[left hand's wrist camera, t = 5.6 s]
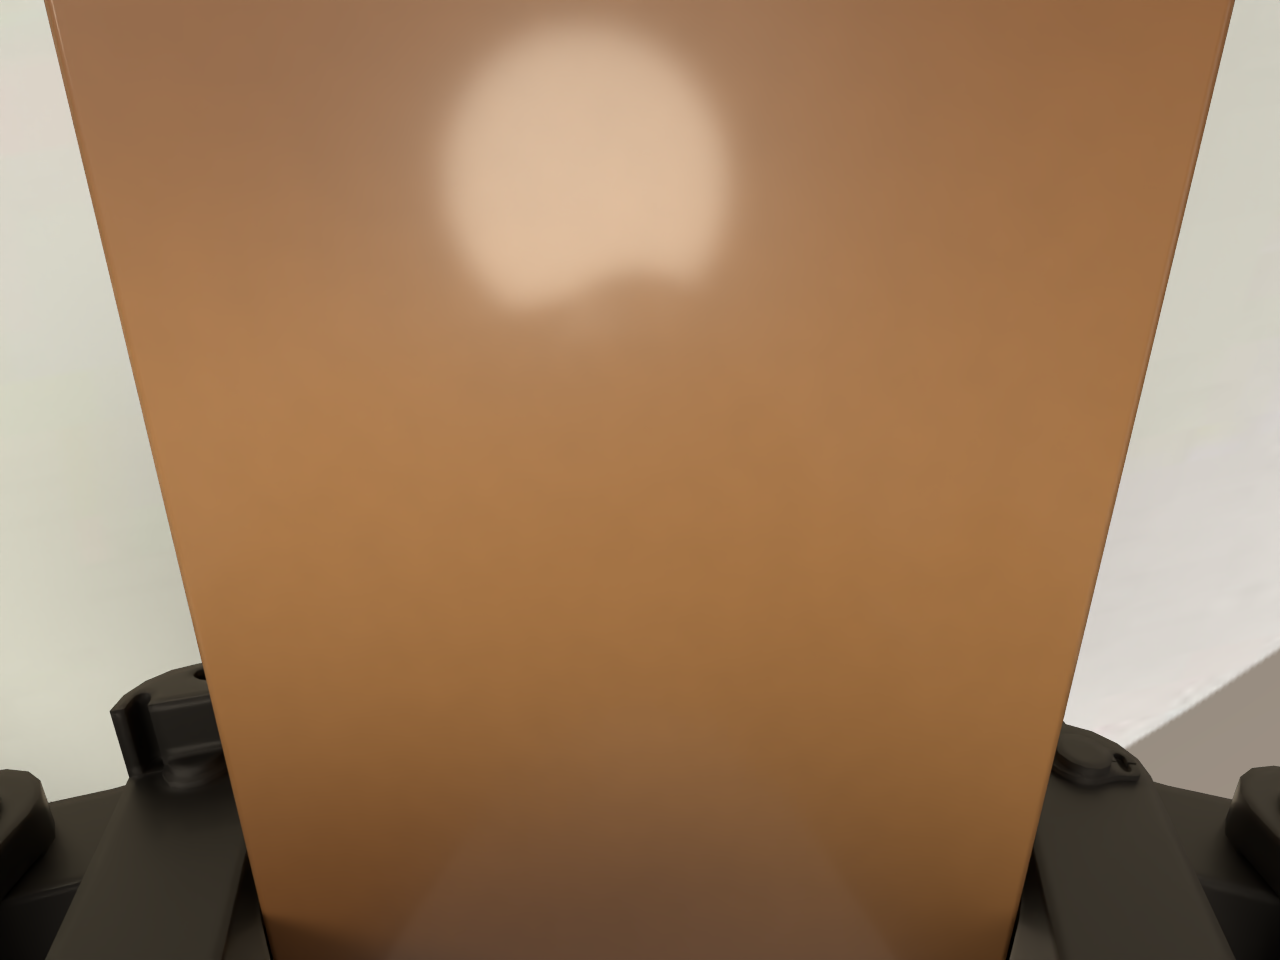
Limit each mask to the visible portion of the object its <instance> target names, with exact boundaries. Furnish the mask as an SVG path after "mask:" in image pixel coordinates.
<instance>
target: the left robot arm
mask: <svg viewBox="0 0 1280 960" xmlns="http://www.w3.org/2000/svg"><path fill="white" fill-rule="evenodd" d="M110 714H111V717H112V721H113V724H114V727H115V731H116V734H117V737H118V741H119V744H120V748H121V751H122V754H123V758H124V761H125V764H126V768H127V771H128V774H129V779H128V781H127V784H126V785H125V786H121V787H118V788H114V789H110V790H105V791H101V792H96V793H91V794H87V795H82V796H78V797H73V798H68V799H64V800H59V801H54V802H50V803H48V801H47V798H46V795H45V793H44V790H43V787H42V784H41V781H40V780H39V779H38V778H36V777H35V776H34V775H32V774H31V773H30V772H28V771H18V770H9V769H5V770H0V960H273V957H272V953H271V949H270V945H269V940H268V936H267V932H266V928H265V924H264V919H263V915H262V911H261V907H260V903H259V898H258V894H257V890H256V886H255V882H254V878H253V873H252V869H251V865H250V861H249V857H248V852H247V848H246V844H245V840H244V836H243V832H242V827H241V823H240V819H239V815H238V811H237V806H236V802H235V798H234V794H233V790H232V785H231V781H230V777H229V773H228V769H227V765H226V760H225V756H224V752H223V748H222V744H221V739H220V735H219V731H218V727H217V723H216V718H215V714H214V710H213V706H212V702H211V698H210V693H209V689H208V685H207V681H206V677H205V672H204V668H203V664H202V663H199V664H195V665H191V666H187V667H183V668H178V669H174V670H171V671H169V672H166V673H164V674H161V675H159V676H157V677H154V678H152V679H149V680H147V681H145V682H144V683H142V684H140V685H139V686H137V687H136V688H134V689H133V690H131V691H130V692H128V693H127V694H125V695H124V696H123V697H122V698H121V699H120V700H119V701H118V702H117V704H116V705H115V706H114V707H113V708H112V709H111V710H110ZM1006 960H1280V767H1278V766H1267V767H1258V768H1252V769H1250V770H1249V771H1248V772H1246V773H1245V774H1244V775H1242V776H1241V777H1240V779H1239V782H1238V785H1237V788H1236V791H1235V793H1234V796H1233V799H1227V798H1222V797H1218V796H1213V795H1208V794H1204V793H1199V792H1195V791H1190V790H1185V789H1180V788H1176V787H1171V786H1167V785H1163V784H1160V783H1156V782H1153V780H1152V778H1151V776H1150V775H1149V773H1148V772H1147V771H1146V769H1145V768H1144V767H1143V765H1142V764H1141V763H1140V761H1139V760H1138V759H1137V758H1136V757H1134V756H1133V755H1132V754H1130V753H1129V752H1128V751H1126V750H1125V749H1124V748H1122V747H1121V746H1120V745H1118V744H1117V743H1115V742H1113V741H1111V740H1109V739H1107V738H1105V737H1103V736H1100V735H1098V734H1096V733H1094V732H1092V731H1089V730H1085V729H1081V728H1078V727H1074V726H1070V725H1067V724H1065V723H1064V721H1063V723H1062V727H1061V731H1060V735H1059V739H1058V744H1057V748H1056V752H1055V756H1054V760H1053V764H1052V769H1051V773H1050V777H1049V781H1048V785H1047V790H1046V794H1045V798H1044V802H1043V806H1042V811H1041V815H1040V819H1039V823H1038V827H1037V831H1036V836H1035V840H1034V844H1033V848H1032V852H1031V857H1030V861H1029V865H1028V869H1027V873H1026V878H1025V882H1024V886H1023V890H1022V894H1021V898H1020V903H1019V907H1018V911H1017V915H1016V919H1015V924H1014V928H1013V932H1012V936H1011V940H1010V945H1009V949H1008V953H1007V957H1006Z"/></svg>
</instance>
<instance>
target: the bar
mask: <svg viewBox="0 0 1280 960" xmlns="http://www.w3.org/2000/svg"><path fill="white" fill-rule="evenodd" d="M1234 2H1235V0H44V3H45V7H46V11H47V15H48V19H49V24H50V28H51V32H52V36H53V40H54V44H55V49H56V53H57V57H58V61H59V65H60V70H61V74H62V78H63V82H64V86H65V91H66V95H67V99H68V103H69V107H70V111H71V116H72V120H73V124H74V128H75V132H76V137H77V141H78V145H79V149H80V153H81V158H82V162H83V166H84V170H85V174H86V178H87V183H88V187H89V191H90V195H91V199H92V204H93V208H94V212H95V216H96V220H97V225H98V229H99V233H100V237H101V241H102V245H103V250H104V254H105V258H106V262H107V266H108V271H109V275H110V279H111V283H112V287H113V291H114V296H115V300H116V304H117V308H118V312H119V317H120V321H121V325H122V329H123V333H124V338H125V342H126V346H127V350H128V354H129V358H130V363H131V367H132V371H133V375H134V379H135V384H136V388H137V392H138V396H139V400H140V405H141V409H142V413H143V417H144V421H145V425H146V430H147V434H148V438H149V442H150V446H151V451H152V455H153V459H154V463H155V467H156V471H157V476H158V480H159V484H160V488H161V492H162V497H163V501H164V505H165V509H166V513H167V518H168V522H169V526H170V530H171V534H172V538H173V543H174V547H175V551H176V555H177V559H178V564H179V568H180V572H181V576H182V580H183V585H184V589H185V593H186V597H187V601H188V605H189V610H190V614H191V618H192V622H193V626H194V631H195V635H196V639H197V643H198V647H199V652H200V656H201V660H202V664H203V668H204V672H205V677H206V681H207V685H208V689H209V693H210V698H211V702H212V706H213V710H214V714H215V718H216V723H217V727H218V731H219V735H220V739H221V744H222V748H223V752H224V756H225V760H226V765H227V769H228V773H229V777H230V781H231V785H232V790H233V794H234V798H235V802H236V806H237V811H238V815H239V819H240V823H241V827H242V832H243V836H244V840H245V844H246V848H247V852H248V857H249V861H250V865H251V869H252V873H253V878H254V882H255V886H256V890H257V894H258V898H259V903H260V907H261V911H262V915H263V919H264V924H265V928H266V932H267V936H268V940H269V945H270V949H271V953H272V957H273V960H1006V957H1007V953H1008V949H1009V945H1010V940H1011V936H1012V932H1013V928H1014V924H1015V919H1016V915H1017V911H1018V907H1019V903H1020V898H1021V894H1022V890H1023V886H1024V882H1025V878H1026V873H1027V869H1028V865H1029V861H1030V857H1031V852H1032V848H1033V844H1034V840H1035V836H1036V831H1037V827H1038V823H1039V819H1040V815H1041V811H1042V806H1043V802H1044V798H1045V794H1046V790H1047V785H1048V781H1049V777H1050V773H1051V769H1052V764H1053V760H1054V756H1055V752H1056V748H1057V744H1058V739H1059V735H1060V731H1061V727H1062V723H1063V718H1064V714H1065V710H1066V706H1067V702H1068V697H1069V693H1070V689H1071V685H1072V681H1073V677H1074V672H1075V668H1076V664H1077V660H1078V656H1079V651H1080V647H1081V643H1082V639H1083V635H1084V630H1085V626H1086V622H1087V618H1088V614H1089V610H1090V605H1091V601H1092V597H1093V593H1094V589H1095V584H1096V580H1097V576H1098V572H1099V568H1100V563H1101V559H1102V555H1103V551H1104V547H1105V543H1106V538H1107V534H1108V530H1109V526H1110V522H1111V517H1112V513H1113V509H1114V505H1115V501H1116V496H1117V492H1118V488H1119V484H1120V480H1121V476H1122V471H1123V467H1124V463H1125V459H1126V455H1127V450H1128V446H1129V442H1130V438H1131V434H1132V429H1133V425H1134V421H1135V417H1136V413H1137V409H1138V404H1139V400H1140V396H1141V392H1142V388H1143V383H1144V379H1145V375H1146V371H1147V367H1148V362H1149V358H1150V354H1151V350H1152V346H1153V342H1154V337H1155V333H1156V329H1157V325H1158V321H1159V316H1160V312H1161V308H1162V304H1163V300H1164V295H1165V291H1166V287H1167V283H1168V279H1169V275H1170V270H1171V266H1172V262H1173V258H1174V254H1175V249H1176V245H1177V241H1178V237H1179V233H1180V228H1181V224H1182V220H1183V216H1184V212H1185V208H1186V203H1187V199H1188V195H1189V191H1190V187H1191V182H1192V178H1193V174H1194V170H1195V166H1196V161H1197V157H1198V153H1199V149H1200V145H1201V141H1202V136H1203V132H1204V128H1205V124H1206V120H1207V115H1208V111H1209V107H1210V103H1211V99H1212V94H1213V90H1214V86H1215V82H1216V78H1217V74H1218V69H1219V65H1220V61H1221V57H1222V53H1223V48H1224V44H1225V40H1226V36H1227V32H1228V27H1229V23H1230V19H1231V15H1232V11H1233V7H1234Z"/></svg>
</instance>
